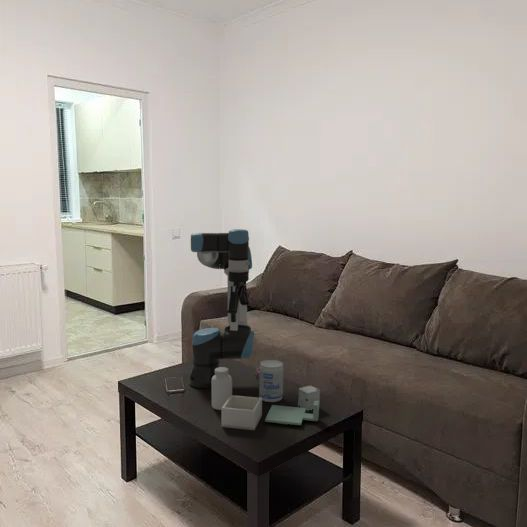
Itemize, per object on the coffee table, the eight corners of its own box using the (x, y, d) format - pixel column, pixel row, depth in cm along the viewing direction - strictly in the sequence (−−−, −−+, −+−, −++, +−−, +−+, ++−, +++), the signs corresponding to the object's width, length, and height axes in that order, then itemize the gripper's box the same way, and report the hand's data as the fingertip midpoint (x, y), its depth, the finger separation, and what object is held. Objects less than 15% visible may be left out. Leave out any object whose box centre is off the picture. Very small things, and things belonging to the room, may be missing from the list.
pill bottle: (212, 411, 196) (212, 373, 194) (211, 402, 204) (210, 366, 202) (233, 410, 198) (233, 372, 195) (231, 401, 205) (231, 365, 203)
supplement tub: (263, 404, 203) (263, 368, 201) (256, 395, 212) (256, 360, 210) (286, 401, 206) (286, 365, 204) (278, 392, 215) (278, 358, 213)
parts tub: (230, 412, 195) (230, 395, 194) (261, 415, 192) (262, 397, 191) (221, 426, 183) (221, 408, 182) (254, 430, 181) (254, 411, 180)
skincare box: (297, 406, 201) (298, 388, 200) (309, 402, 205) (310, 384, 204) (307, 411, 196) (308, 393, 195) (320, 407, 200) (320, 389, 199)
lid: (272, 409, 198) (272, 391, 197) (319, 414, 194) (320, 396, 193) (265, 424, 186) (265, 405, 185) (315, 429, 182) (316, 410, 181)
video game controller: (264, 379, 234) (257, 365, 234) (273, 375, 233) (266, 361, 233) (258, 387, 225) (251, 372, 225) (267, 383, 223) (260, 369, 223)
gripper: (239, 276, 182) (239, 334, 185) (255, 266, 206) (255, 318, 209) (219, 275, 184) (219, 333, 187) (237, 265, 208) (237, 317, 211)
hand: (238, 325), depth 198 cm, fingers open, 13 cm apart
